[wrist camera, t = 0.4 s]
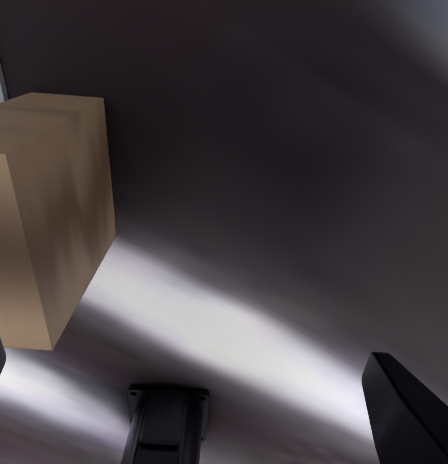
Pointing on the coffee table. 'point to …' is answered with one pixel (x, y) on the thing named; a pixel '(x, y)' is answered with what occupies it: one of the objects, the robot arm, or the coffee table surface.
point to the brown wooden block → (51, 212)
